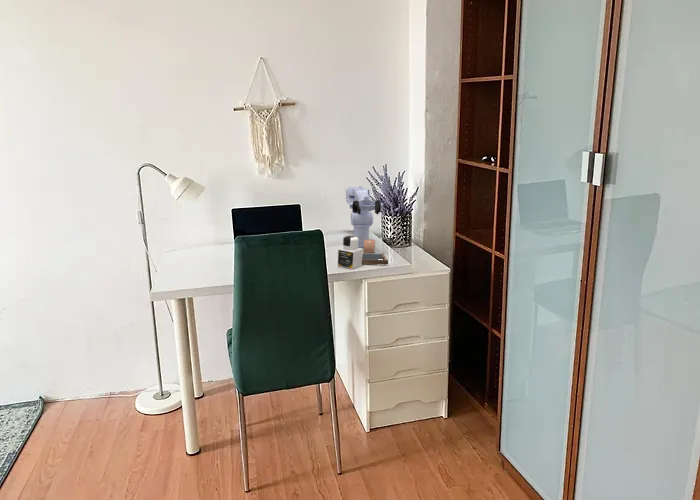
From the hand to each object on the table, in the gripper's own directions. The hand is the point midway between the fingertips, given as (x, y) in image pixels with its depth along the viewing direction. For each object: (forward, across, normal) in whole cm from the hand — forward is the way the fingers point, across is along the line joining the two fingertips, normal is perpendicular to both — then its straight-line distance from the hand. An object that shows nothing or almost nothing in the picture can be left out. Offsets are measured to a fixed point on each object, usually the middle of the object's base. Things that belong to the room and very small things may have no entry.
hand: (368, 212), depth 249 cm
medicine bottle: (+19, -9, +16) cm, 27 cm away
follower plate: (+10, +1, +18) cm, 20 cm away
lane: (+10, +1, +18) cm, 21 cm away
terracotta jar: (-1, +1, +20) cm, 20 cm away
